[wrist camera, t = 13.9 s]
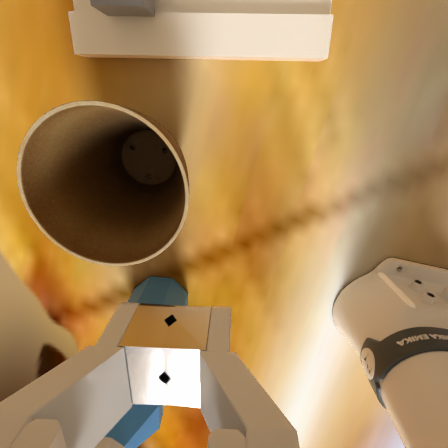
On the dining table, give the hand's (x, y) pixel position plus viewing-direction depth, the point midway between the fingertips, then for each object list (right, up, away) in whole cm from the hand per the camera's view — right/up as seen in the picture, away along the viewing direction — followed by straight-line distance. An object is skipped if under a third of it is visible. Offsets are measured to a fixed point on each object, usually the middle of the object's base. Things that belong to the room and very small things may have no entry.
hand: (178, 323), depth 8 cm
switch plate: (-1, +28, +25) cm, 38 cm away
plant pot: (-9, +12, +33) cm, 36 cm away
